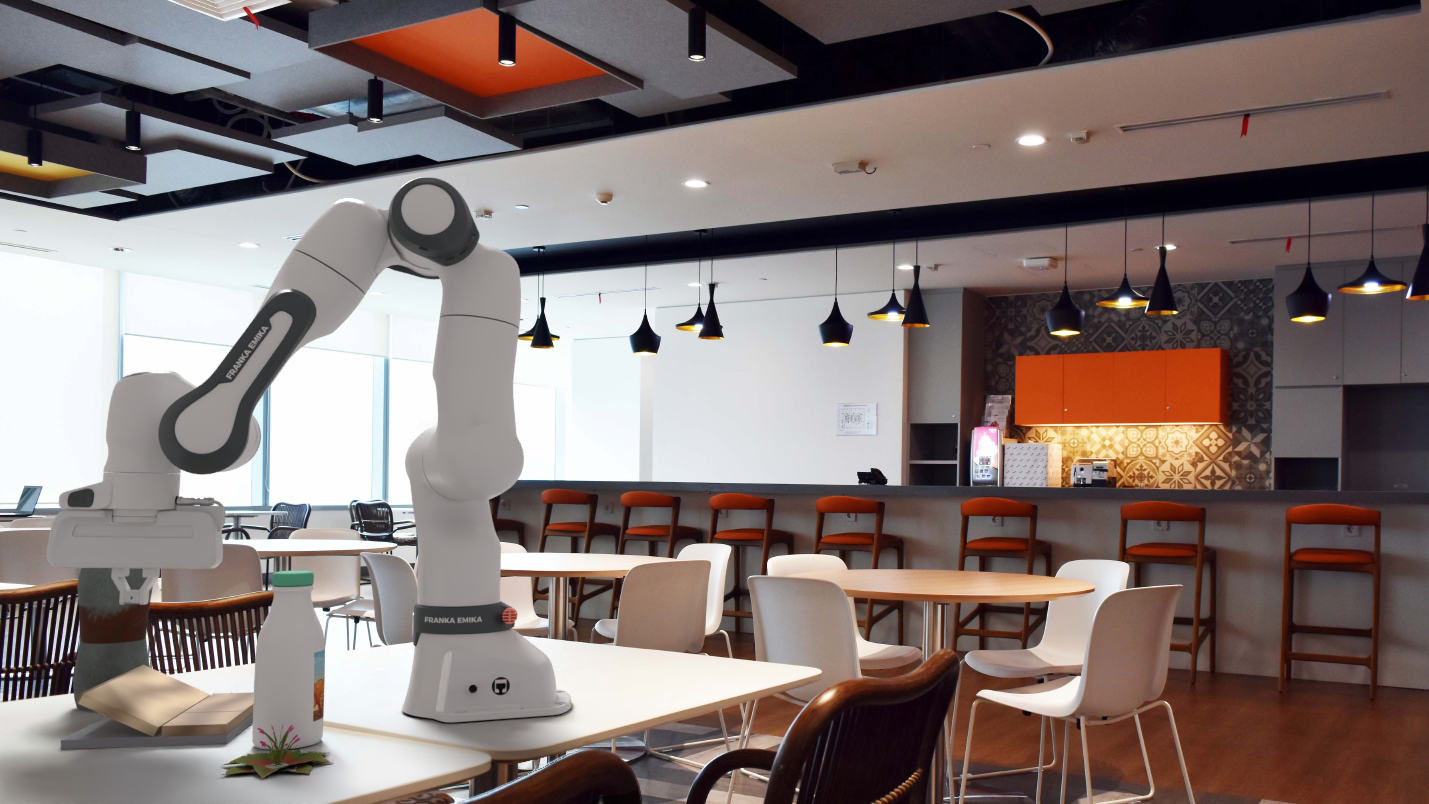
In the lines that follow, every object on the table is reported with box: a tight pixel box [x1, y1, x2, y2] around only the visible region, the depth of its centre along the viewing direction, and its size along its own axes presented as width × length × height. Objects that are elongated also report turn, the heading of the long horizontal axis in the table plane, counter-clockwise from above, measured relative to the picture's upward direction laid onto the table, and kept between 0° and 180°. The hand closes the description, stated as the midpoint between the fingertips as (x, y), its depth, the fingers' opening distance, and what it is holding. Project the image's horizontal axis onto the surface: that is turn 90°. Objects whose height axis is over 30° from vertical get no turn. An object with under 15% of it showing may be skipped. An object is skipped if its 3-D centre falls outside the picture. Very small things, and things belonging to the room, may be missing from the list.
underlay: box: [60, 714, 253, 750], centre depth 133 cm, size 18×20×1 cm
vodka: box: [72, 568, 154, 713], centre depth 147 cm, size 9×9×30 cm
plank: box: [74, 665, 211, 737], centre depth 133 cm, size 10×20×1 cm, turn 7°
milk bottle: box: [251, 570, 326, 751], centre depth 126 cm, size 8×8×20 cm
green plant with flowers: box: [220, 725, 334, 780], centre depth 115 cm, size 12×12×5 cm
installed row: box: [161, 691, 254, 737], centre depth 134 cm, size 7×20×1 cm, turn 9°
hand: (133, 604), depth 136 cm, fingers closed
